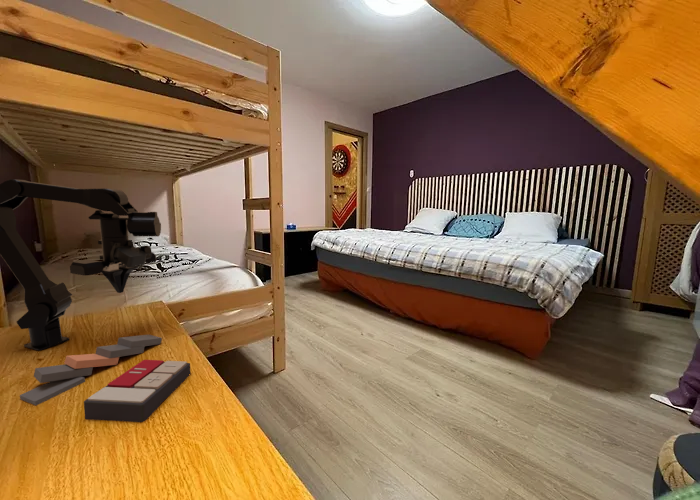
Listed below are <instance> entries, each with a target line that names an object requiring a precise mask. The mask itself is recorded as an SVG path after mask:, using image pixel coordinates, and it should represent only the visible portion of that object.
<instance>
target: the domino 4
mask: <svg viewBox="0 0 700 500" xmlns="http://www.w3.org/2000/svg"><path fill="white" fill-rule="evenodd" d="M145 347H146V346H143V347H135V348H129V347H125V346H122V345H118V344H110V345H103V346H96V349H95V353H94V354H97V355H100V356H103V357H107V358H115V357H119V358H120V357H126V356H132V355H137V354H138V355H139V354H143V353H144V351H145Z"/></svg>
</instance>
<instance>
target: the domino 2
mask: <svg viewBox="0 0 700 500" xmlns="http://www.w3.org/2000/svg"><path fill="white" fill-rule="evenodd" d="M85 382H86V379H85V376H81V377H75V378H69V379H62V380H56V381H50V382H45V383H43V384H42V385H39V386H37V387H35V388H32V389H30V390H28V391H26V392H24V393H21V394H19V399H20V400H21V401H24V402H27V403H28V404H31V405H33V406H38V405H40V404H42V403H44V402H47V401H49V400H50V399H53V398H54V397H56V396H59V395H61V394H63V393H65V392H67V391H69V390H71V389H73V388H75V387H77V386H79V385H81V384H83V383H85Z"/></svg>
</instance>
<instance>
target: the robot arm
mask: <svg viewBox="0 0 700 500" xmlns="http://www.w3.org/2000/svg"><path fill="white" fill-rule="evenodd" d="M128 197H129V196H127V194H126V193H125V191H123V190H121V189H117V188H78V187H71V186H64V185H58V184H57V185H55V184H49V183H48V184H47V183H43V182H42V183H41V182H34V181H28V180H26V179H15V178H14V179H13V178H11V179H7V180H4V181H3V182H1V183H0V257H1V258H2V259H3V261H4V262H5V264H6V265H7V266H8V268H9V270H10V271H11V272H12V273H13V275H14V276H15V278H16V279H17V281H18V282H19V284H20V285H21V287H22V288H23V290H24V291H23V292H24V293H23V294H24V301H23V302H24V304H25V307H26V309H27V311H26V312H25V313H24V314H23V315H22V316H21V317H19V319H17V320H16V324H17V325H18V327H19V328H20V330H26V329H28V333H29V339H30V342H28V343H24V344H23V346H24V348H28V349H31V350H35V351H38V352H39V351H40V352H41V351H42V350H45V349H48V348H52V347H54V346H57V345H58V344H62V343H65V342H67V341H70V337H66V336H63V335H62V330H61V322H60V317H62V316H64V315H65V313H66V310H67V309H68V308H69V307H70V306H71V304H72V303H73V300H72V296H73V293H71V292H70V291H69V290H68V288H67V286H66V283H64V282H59V283H58V284H57V283H55V282H53V281H51V280H50V278H49V277H48V276H47V274H46V273H45V271H44V270H43V268H42V267H41V265H40V264H39V262H38V260H37V259H36V258H35V256H34V255H33V253H32V251H31V250H30V248H29V247H28V245H27V244H26V243H25V241H24V240H23V238H22V236H21V235H20V233H19V232H18V230H17V217H16V215H15V212H14V210H16V209H17V208H19V207H20V206H21V205H22V204H23V203H24V202H25V201H26V200H27V199H28V198H33V199H34V198H35V199H42V200H50V201H57V202H65V203H74V204H79V205H82V206H85V207H88V208H91V209H96V210H95V211H94V212H93V213H92V214H91V215H90V216H88V220H98V221H99V229H100V239H99V240H97V243H98V245H101V250H102V251H101V252H102V254H101V255H99V260H95V259H84V260H78V261H72V262H71V265H70V266H69V271H70V272H69V273H70V274H73V275H78V276H79V275H80V276H92V275H97V274H102V275H103V276H104V277H105V278H106V279H107V280H108V282H109V283H110V284H111V286H112V287H113V289H114V290H115V292H116V293H118V294H122V293H123V292H124V290H125V287H126V285H127V282H128V280H129V279H128V278H129V277H130V274H131V273H132V272H133V271H134V270H136V269H138V267H139V266H144V265H145V264H151V263H156V262H157V255H156V254H155V253H154V252H152V251H153V250H152V247H151V246H149V245H141V246H137V247H136V246H134V242H133V240H132V239H129V234H130V235H131V234H132V236H133V237H160V235H161V232H162V223H161V222H160V218H159V216H158V212H157V211H147V212H145V211H144V212H143V211H138V210H137V208H135V207H134V206H133V204H131V202H130V201H129V198H128Z"/></svg>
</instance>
